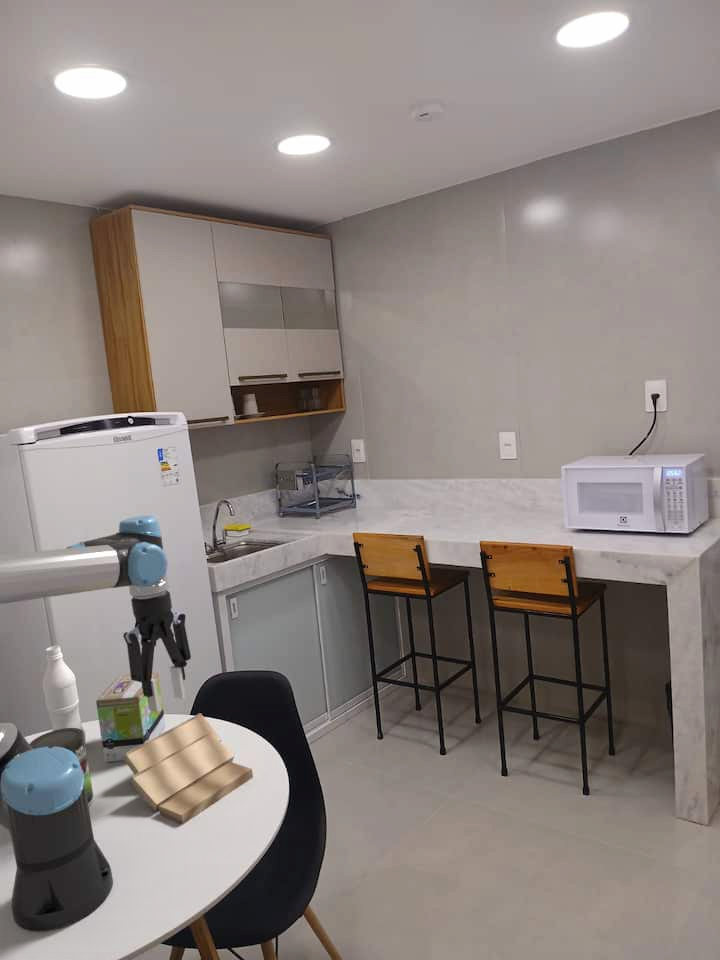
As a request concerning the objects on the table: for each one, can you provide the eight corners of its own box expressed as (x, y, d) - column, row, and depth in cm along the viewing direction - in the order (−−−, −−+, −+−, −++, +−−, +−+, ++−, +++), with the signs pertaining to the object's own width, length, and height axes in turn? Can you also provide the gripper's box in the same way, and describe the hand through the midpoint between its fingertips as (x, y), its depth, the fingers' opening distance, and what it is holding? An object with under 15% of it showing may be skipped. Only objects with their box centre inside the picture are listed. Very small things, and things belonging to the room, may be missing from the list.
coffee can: (104, 791, 152) (93, 726, 150) (75, 821, 142) (63, 752, 140) (60, 791, 154) (48, 727, 152) (28, 820, 144) (15, 752, 142)
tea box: (148, 759, 164) (138, 695, 162) (104, 763, 164) (93, 700, 162) (167, 727, 179) (158, 669, 177) (126, 732, 179) (116, 673, 177)
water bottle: (47, 757, 170) (29, 654, 167) (68, 742, 177) (50, 642, 174) (73, 758, 168) (55, 653, 165) (93, 743, 175) (76, 642, 171)
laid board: (183, 824, 136) (181, 814, 136) (159, 814, 141) (158, 804, 140) (253, 777, 150) (251, 768, 150) (229, 769, 155) (228, 760, 154)
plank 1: (144, 788, 150) (147, 783, 149) (123, 758, 153) (125, 753, 152) (219, 744, 165) (221, 739, 164) (198, 717, 169) (200, 712, 168)
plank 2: (155, 811, 141) (156, 804, 141) (130, 782, 145) (131, 776, 144) (232, 762, 157) (234, 755, 156) (208, 737, 161) (209, 731, 160)
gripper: (121, 609, 138) (140, 726, 141) (198, 581, 152) (214, 688, 155) (98, 606, 142) (117, 719, 145) (175, 579, 157) (191, 683, 160)
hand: (167, 703), depth 150 cm, fingers open, 6 cm apart
